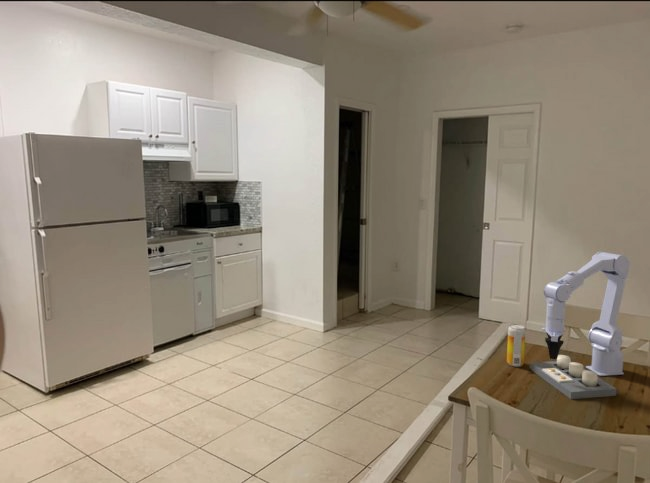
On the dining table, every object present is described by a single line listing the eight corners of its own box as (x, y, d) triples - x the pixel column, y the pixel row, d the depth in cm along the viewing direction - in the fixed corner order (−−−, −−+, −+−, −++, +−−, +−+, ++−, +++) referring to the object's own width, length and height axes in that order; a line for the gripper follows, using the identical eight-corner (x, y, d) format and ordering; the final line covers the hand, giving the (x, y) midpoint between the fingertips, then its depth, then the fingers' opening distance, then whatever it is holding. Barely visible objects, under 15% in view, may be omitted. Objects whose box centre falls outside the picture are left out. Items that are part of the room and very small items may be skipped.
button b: (577, 372, 165) (578, 361, 165) (585, 377, 161) (586, 366, 160) (565, 372, 165) (566, 362, 164) (573, 378, 160) (574, 367, 160)
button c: (590, 380, 158) (591, 370, 158) (599, 386, 154) (600, 375, 154) (578, 381, 158) (579, 370, 157) (587, 387, 154) (588, 376, 153)
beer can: (520, 361, 181) (522, 324, 179) (525, 367, 175) (527, 329, 173) (504, 360, 182) (506, 323, 180) (509, 367, 176) (511, 329, 174)
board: (569, 366, 176) (569, 360, 175) (616, 395, 152) (616, 388, 152) (529, 368, 174) (530, 362, 174) (570, 399, 150) (571, 392, 150)
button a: (565, 364, 172) (565, 354, 172) (572, 369, 168) (573, 359, 167) (553, 365, 172) (554, 355, 171) (561, 369, 167) (561, 359, 167)
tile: (555, 369, 167) (555, 367, 167) (573, 381, 157) (573, 379, 157) (542, 370, 167) (542, 368, 167) (559, 382, 157) (559, 380, 157)
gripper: (543, 310, 168) (541, 346, 170) (541, 321, 156) (540, 360, 157) (565, 312, 165) (563, 348, 167) (565, 324, 152) (563, 363, 154)
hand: (553, 354), depth 162 cm, fingers open, 7 cm apart
